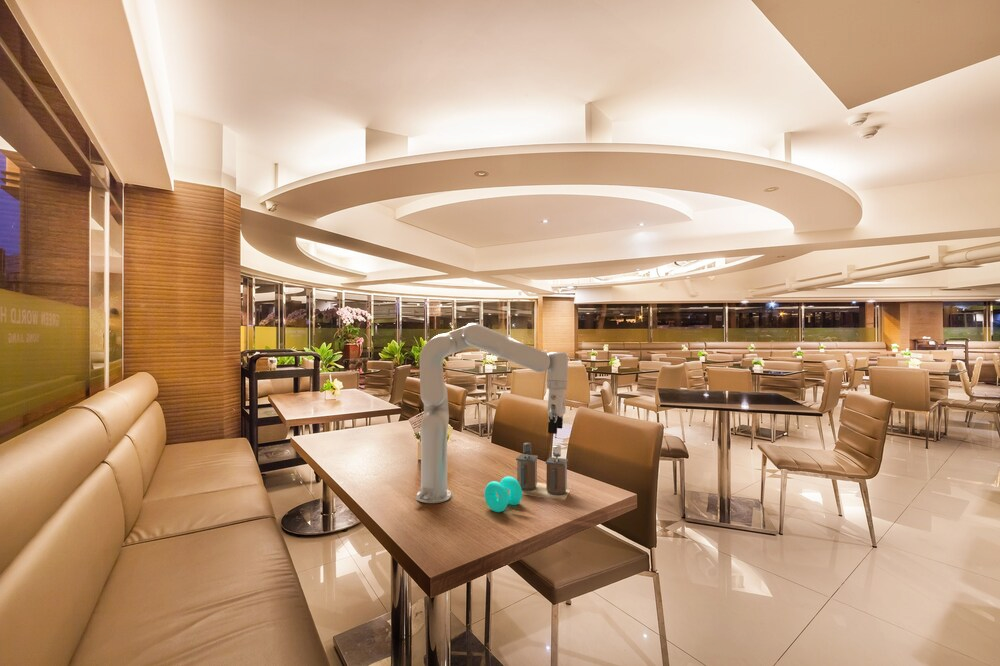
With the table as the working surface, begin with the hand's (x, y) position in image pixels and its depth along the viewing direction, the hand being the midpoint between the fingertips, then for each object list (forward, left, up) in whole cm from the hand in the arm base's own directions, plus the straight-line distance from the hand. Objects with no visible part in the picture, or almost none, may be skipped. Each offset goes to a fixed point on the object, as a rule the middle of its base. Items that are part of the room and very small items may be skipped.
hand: (555, 430), depth 155 cm
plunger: (0, -1, -21) cm, 21 cm away
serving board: (0, +5, -24) cm, 24 cm away
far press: (-1, +11, -23) cm, 25 cm away
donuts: (-18, +14, -24) cm, 33 cm away
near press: (-1, -1, -23) cm, 23 cm away
